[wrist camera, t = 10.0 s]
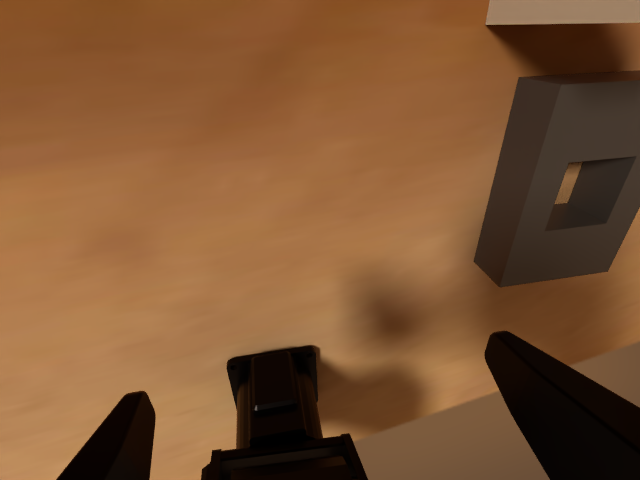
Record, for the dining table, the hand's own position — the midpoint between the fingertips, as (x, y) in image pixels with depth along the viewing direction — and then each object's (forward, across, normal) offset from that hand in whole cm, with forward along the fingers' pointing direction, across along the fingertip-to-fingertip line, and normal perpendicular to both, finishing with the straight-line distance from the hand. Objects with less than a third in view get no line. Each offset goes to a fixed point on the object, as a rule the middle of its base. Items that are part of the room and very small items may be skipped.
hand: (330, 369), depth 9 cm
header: (+12, -17, +1) cm, 21 cm away
